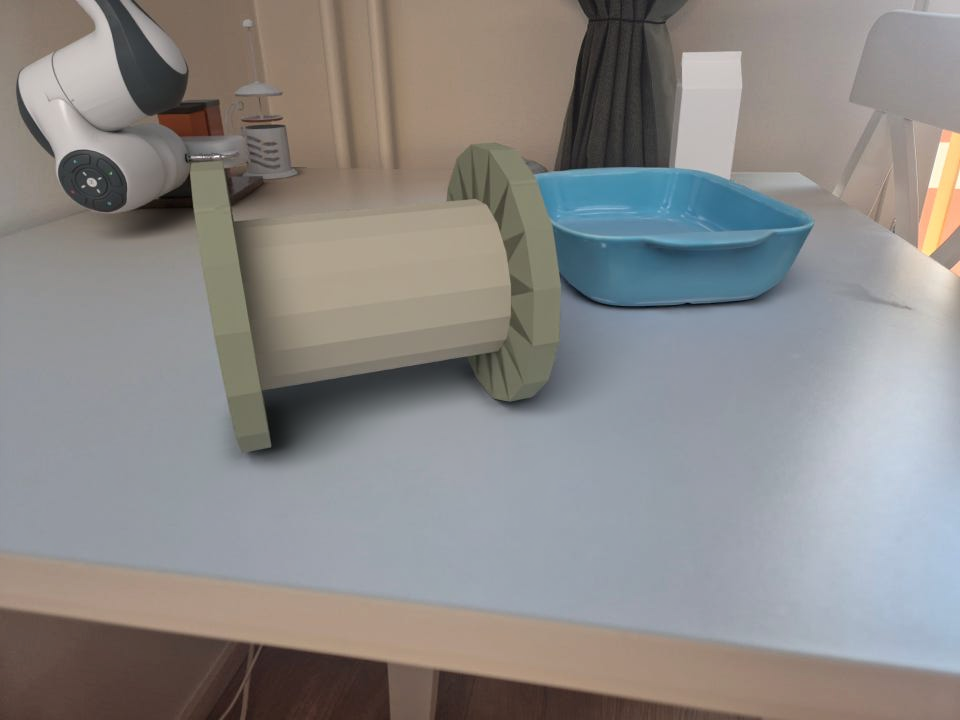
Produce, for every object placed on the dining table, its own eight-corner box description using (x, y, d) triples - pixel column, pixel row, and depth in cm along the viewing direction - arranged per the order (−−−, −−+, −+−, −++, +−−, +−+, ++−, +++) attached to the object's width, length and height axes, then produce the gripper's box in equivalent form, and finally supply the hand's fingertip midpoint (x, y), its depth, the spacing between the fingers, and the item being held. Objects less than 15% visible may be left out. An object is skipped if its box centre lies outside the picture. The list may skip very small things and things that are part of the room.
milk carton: (726, 210, 89) (747, 51, 81) (670, 209, 90) (685, 52, 82) (717, 199, 95) (736, 51, 87) (665, 199, 96) (679, 52, 88)
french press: (281, 179, 116) (258, 17, 106) (221, 178, 119) (193, 19, 108) (307, 170, 125) (289, 19, 115) (251, 169, 128) (228, 21, 117)
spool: (468, 342, 51) (462, 132, 44) (556, 440, 38) (565, 164, 32) (237, 379, 46) (193, 148, 39) (248, 506, 33) (186, 194, 27)
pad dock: (133, 208, 97) (110, 109, 92) (180, 185, 114) (162, 99, 108) (231, 205, 97) (214, 106, 92) (263, 183, 114) (251, 97, 108)
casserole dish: (507, 223, 84) (507, 164, 81) (682, 216, 86) (688, 158, 83) (565, 338, 51) (568, 245, 48) (849, 323, 53) (869, 232, 50)
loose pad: (172, 195, 99) (154, 108, 94) (188, 187, 105) (171, 104, 100) (204, 194, 99) (188, 107, 94) (218, 186, 105) (203, 104, 100)
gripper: (227, 132, 87) (256, 120, 99) (66, 136, 86) (116, 124, 99) (236, 182, 89) (263, 165, 102) (79, 186, 89) (126, 168, 102)
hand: (189, 145), depth 100 cm, fingers closed on loose pad, 4 cm apart
